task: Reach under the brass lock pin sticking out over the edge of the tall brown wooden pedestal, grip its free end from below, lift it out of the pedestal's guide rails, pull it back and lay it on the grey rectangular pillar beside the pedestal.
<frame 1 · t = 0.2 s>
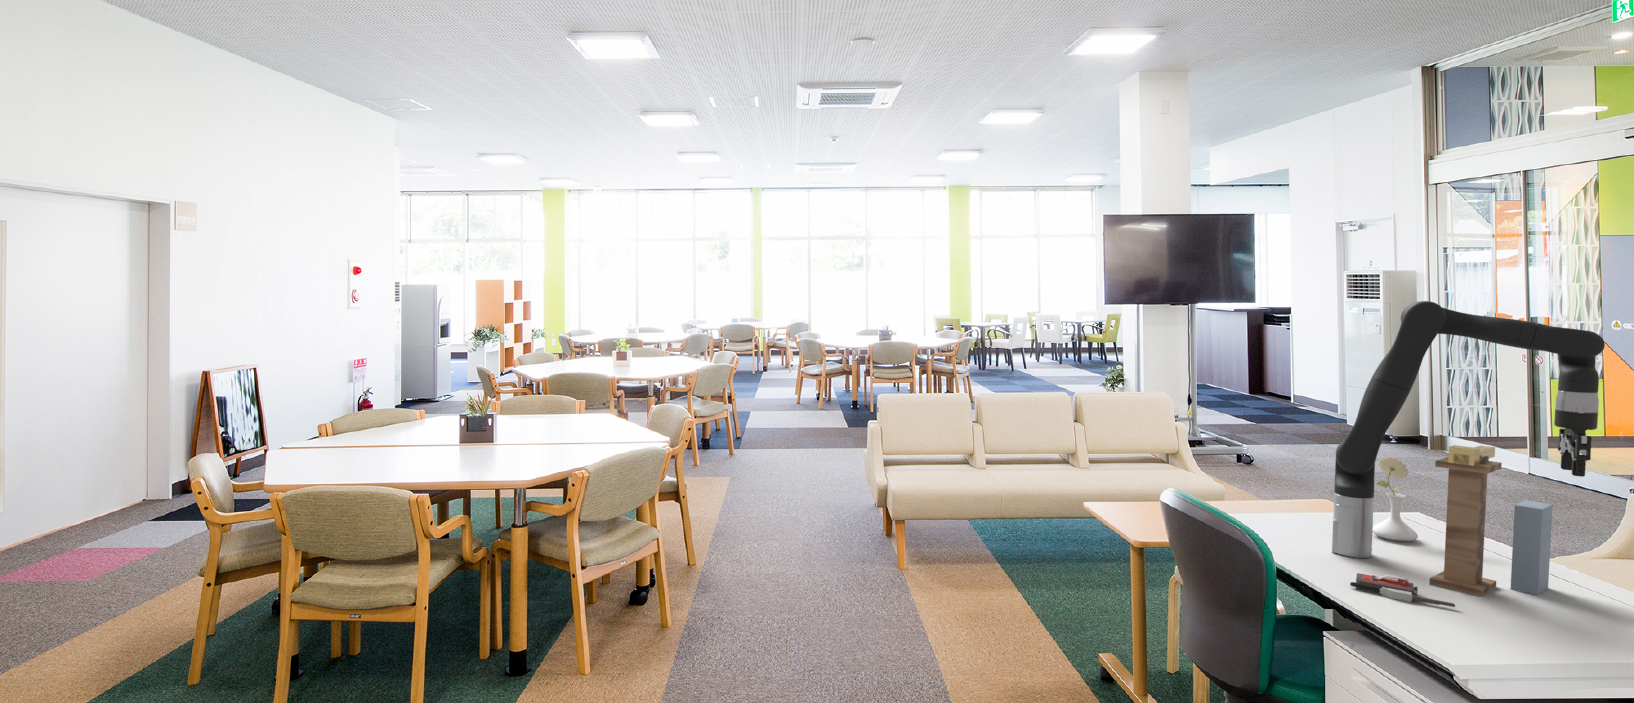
hand: (1572, 472, 183), 29 cm above the table, tool pointing down, fingers open, 8 cm apart
grey rectangular pillar: (1529, 588, 183), on the table
flower in vase: (1392, 538, 225), on the table
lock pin: (1474, 459, 186), point 32 cm above the table, touching brown wooden pedestal
brown wooden pedestal: (1462, 585, 185), on the table
red long two-tone device: (1400, 597, 179), on the table
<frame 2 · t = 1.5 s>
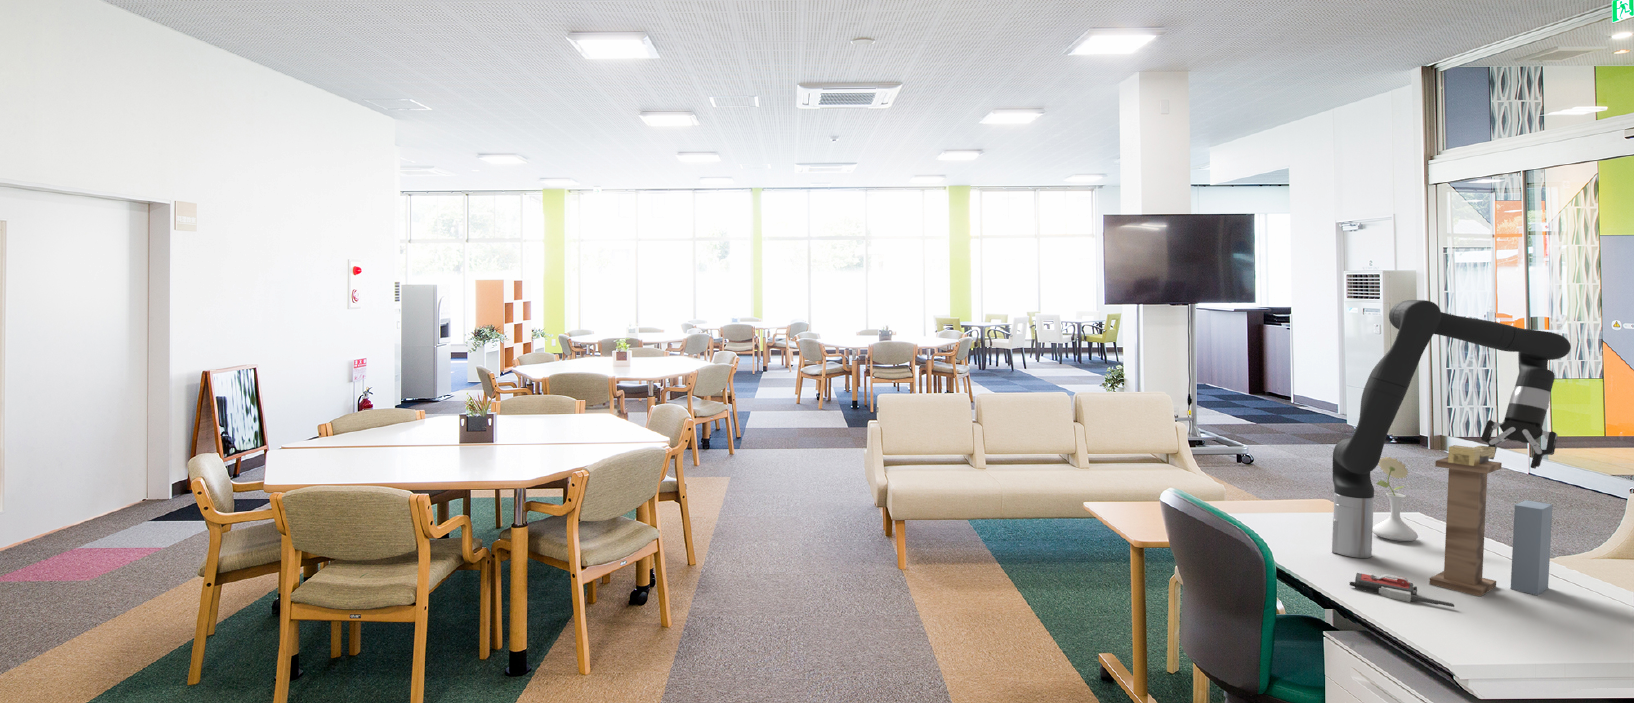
hand: (1511, 463, 196), 29 cm above the table, tool tilted 15°, fingers open, 8 cm apart
nothing on the table moved.
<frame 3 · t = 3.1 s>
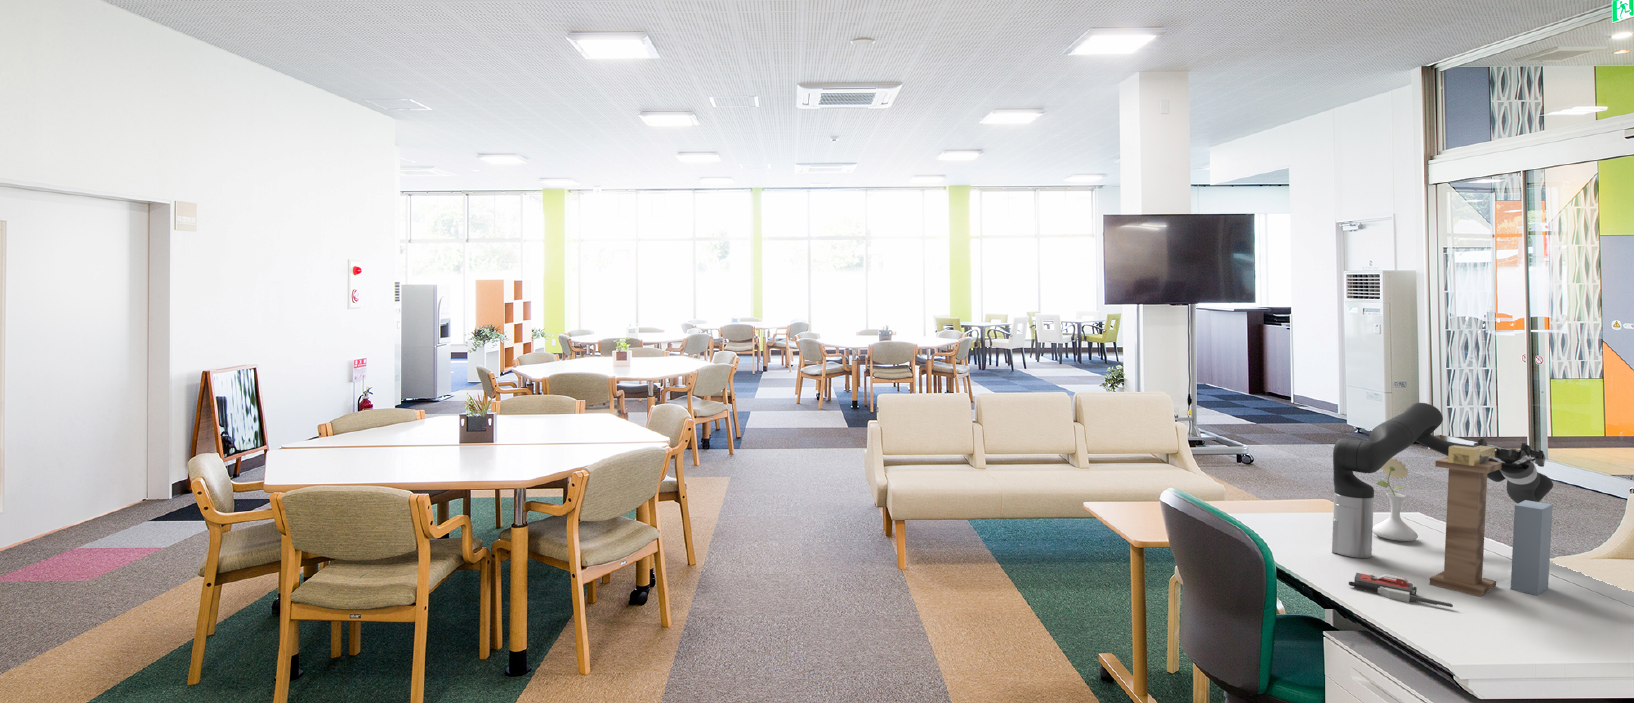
hand: (1502, 443, 198), 34 cm above the table, tool pointing upward, fingers open, 8 cm apart
nothing on the table moved.
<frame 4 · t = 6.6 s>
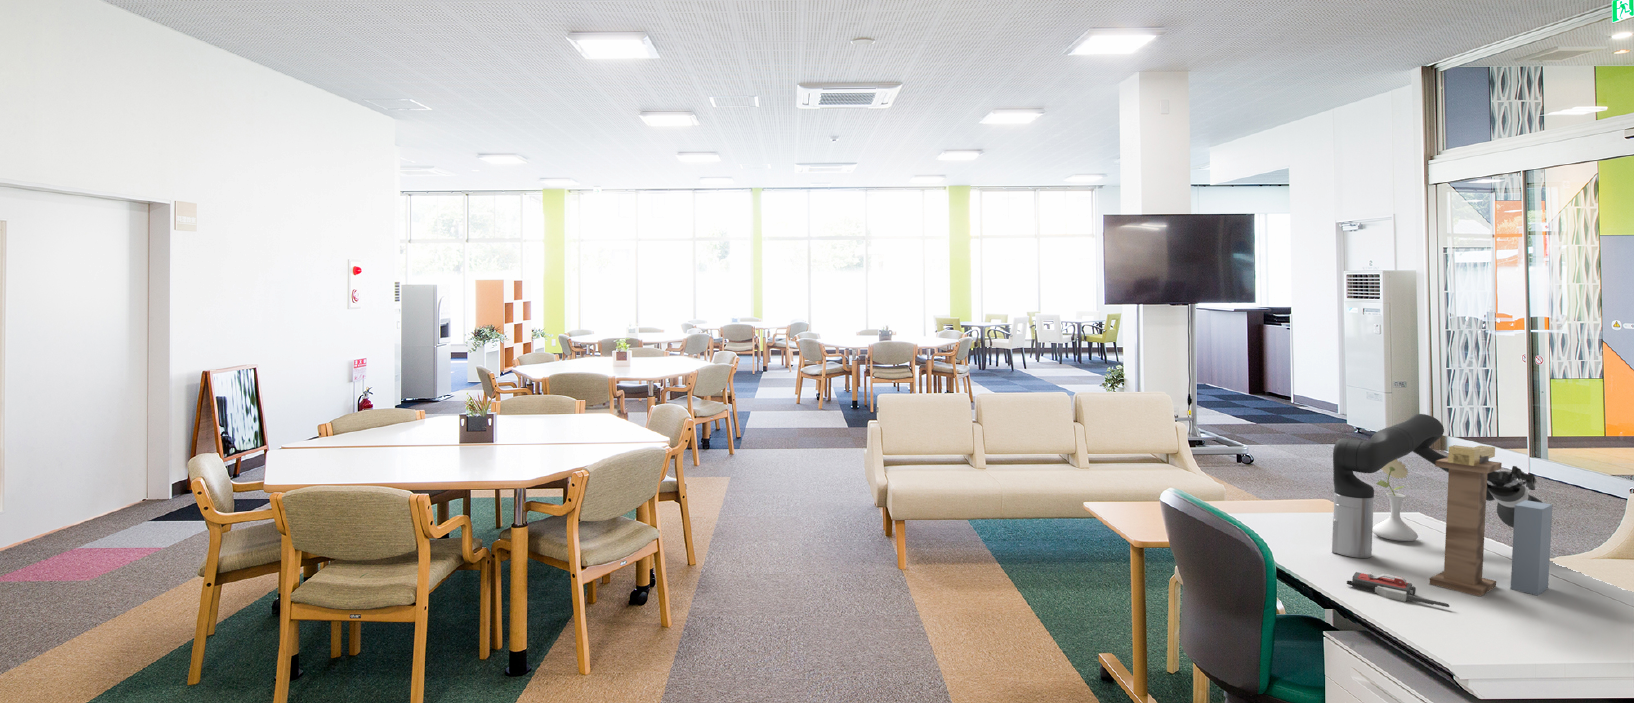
hand: (1492, 466, 195), 29 cm above the table, tool pointing upward, fingers open, 8 cm apart
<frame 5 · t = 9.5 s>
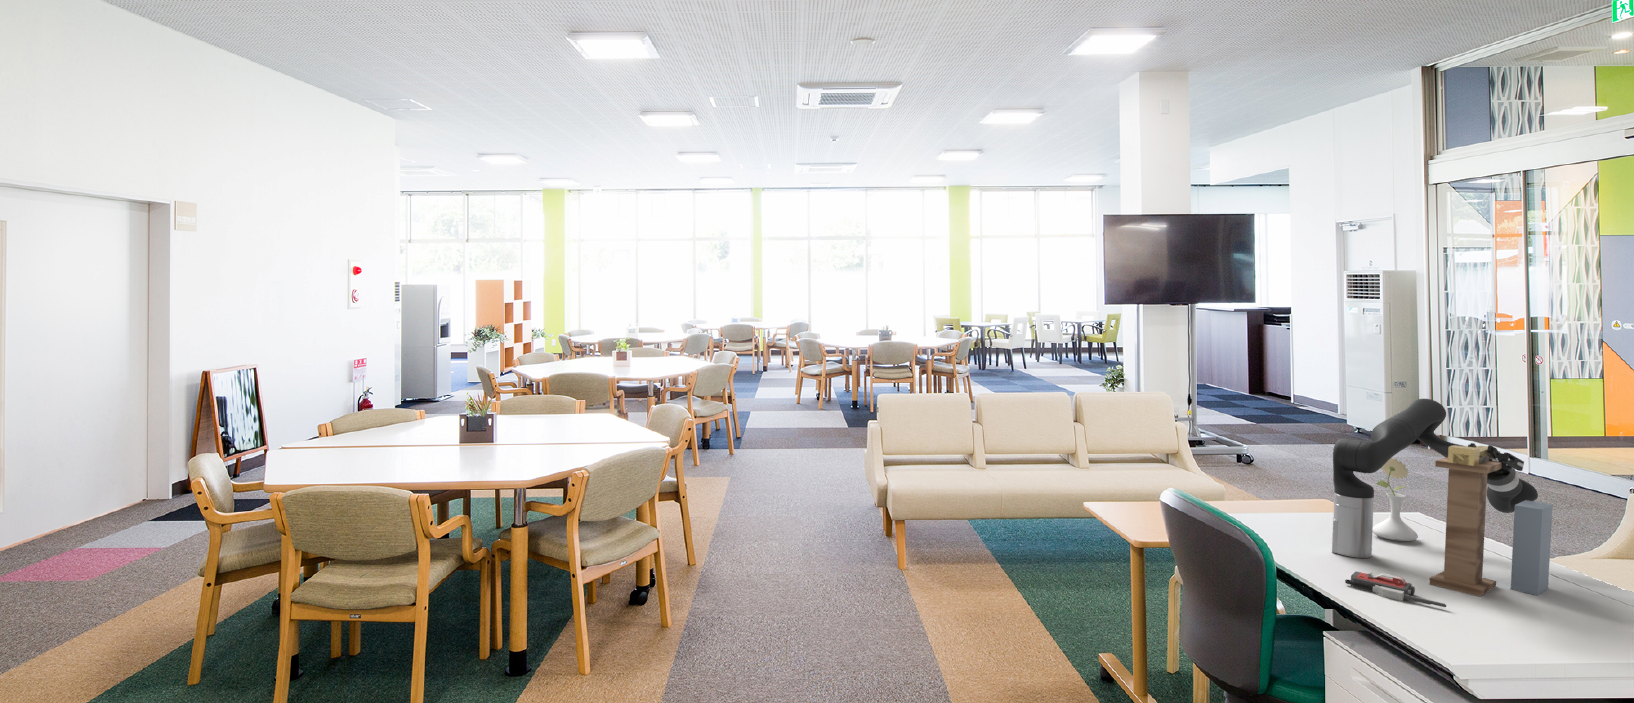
hand: (1480, 447, 189), 35 cm above the table, tool pointing upward, fingers closed on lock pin, 3 cm apart
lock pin: (1474, 459, 186), point 32 cm above the table, touching gripper, brown wooden pedestal
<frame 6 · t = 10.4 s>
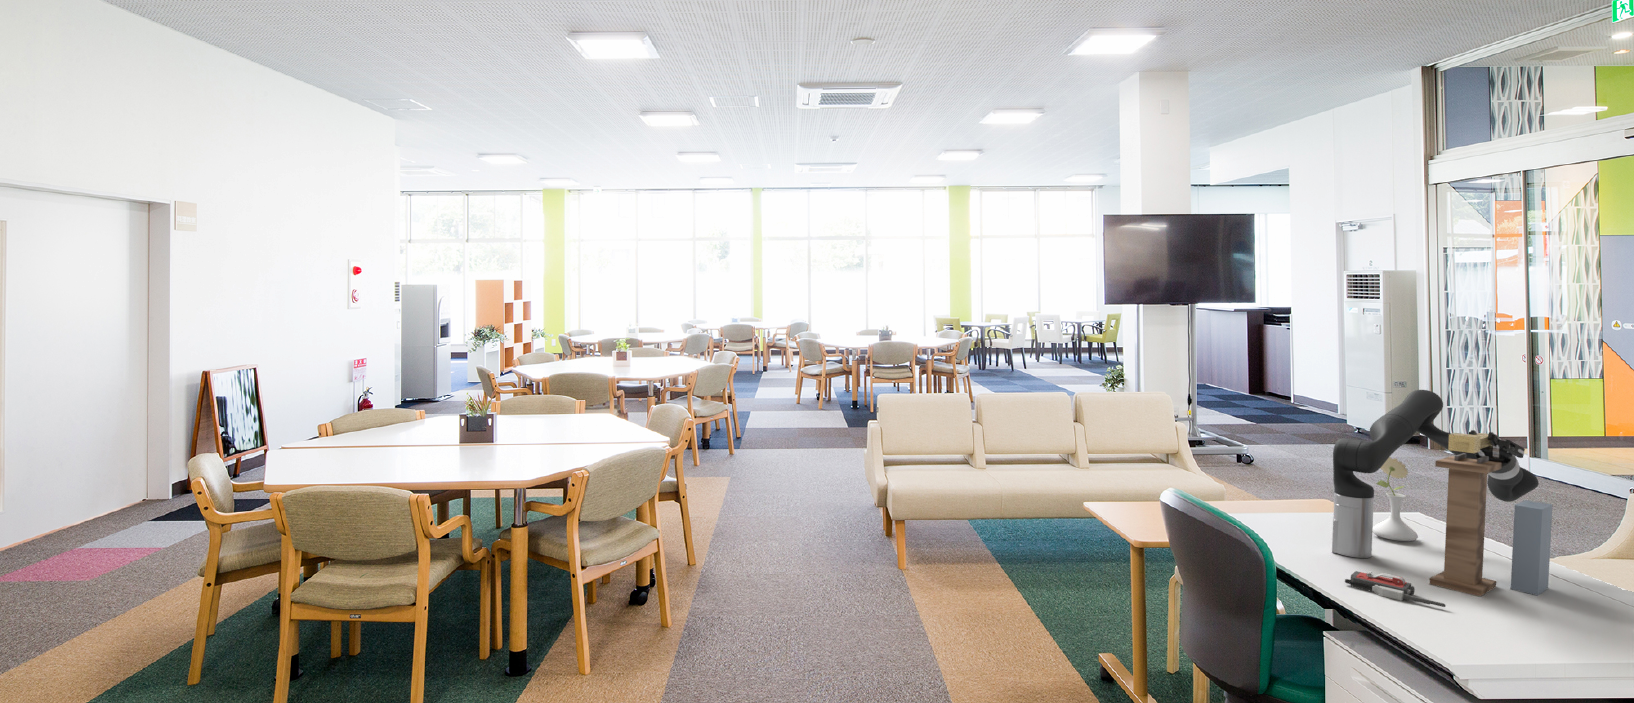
hand: (1481, 434, 188), 38 cm above the table, tool pointing upward, fingers closed on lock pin, 3 cm apart
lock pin: (1474, 447, 186), point 35 cm above the table, touching gripper
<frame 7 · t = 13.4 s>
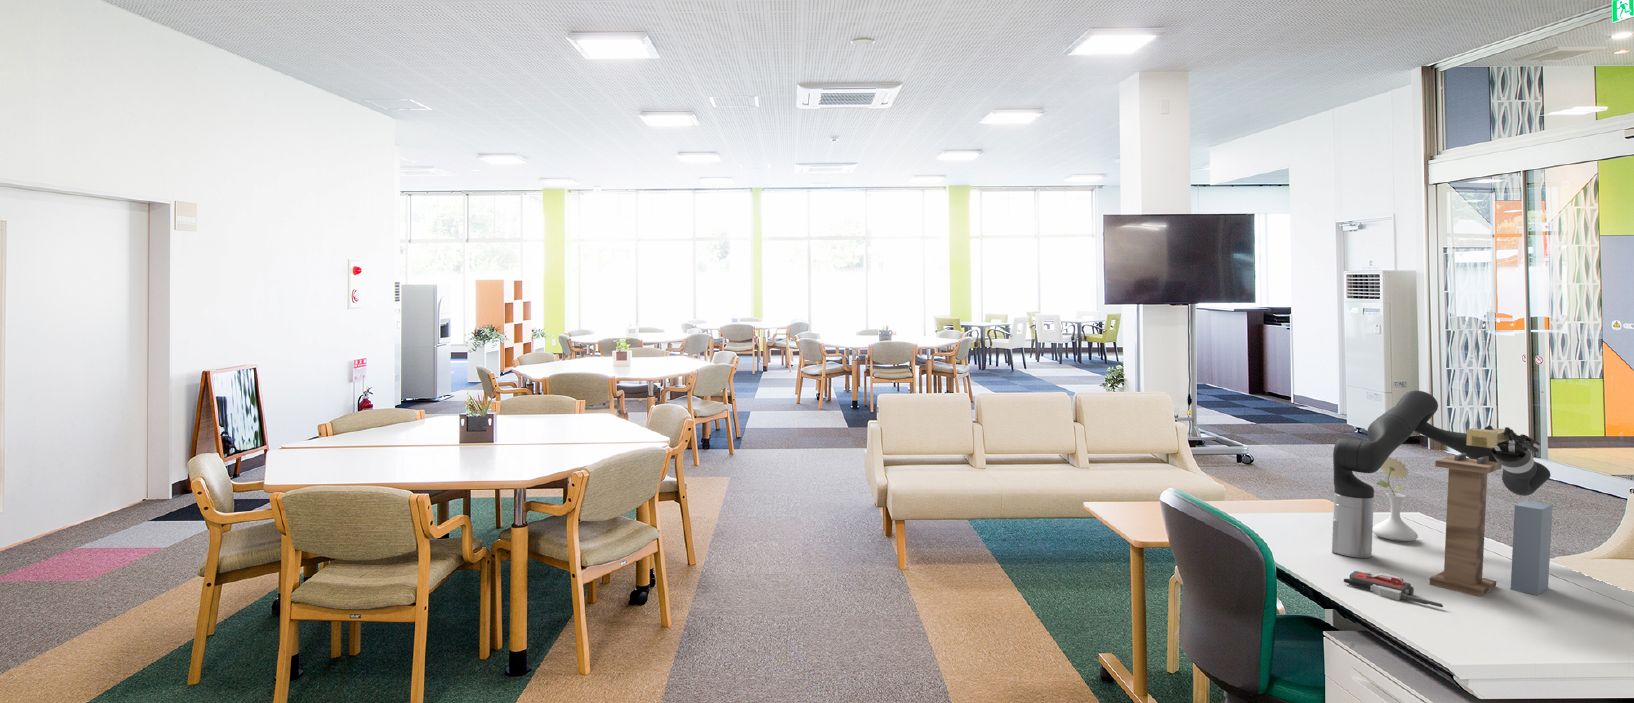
hand: (1497, 429, 193), 39 cm above the table, tool pointing upward, fingers closed on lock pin, 3 cm apart
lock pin: (1491, 442, 191), point 36 cm above the table, touching gripper
when the fingers open (26 cm above the table, at t = 17.5 s): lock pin drops 1 cm, resting on grey rectangular pillar.
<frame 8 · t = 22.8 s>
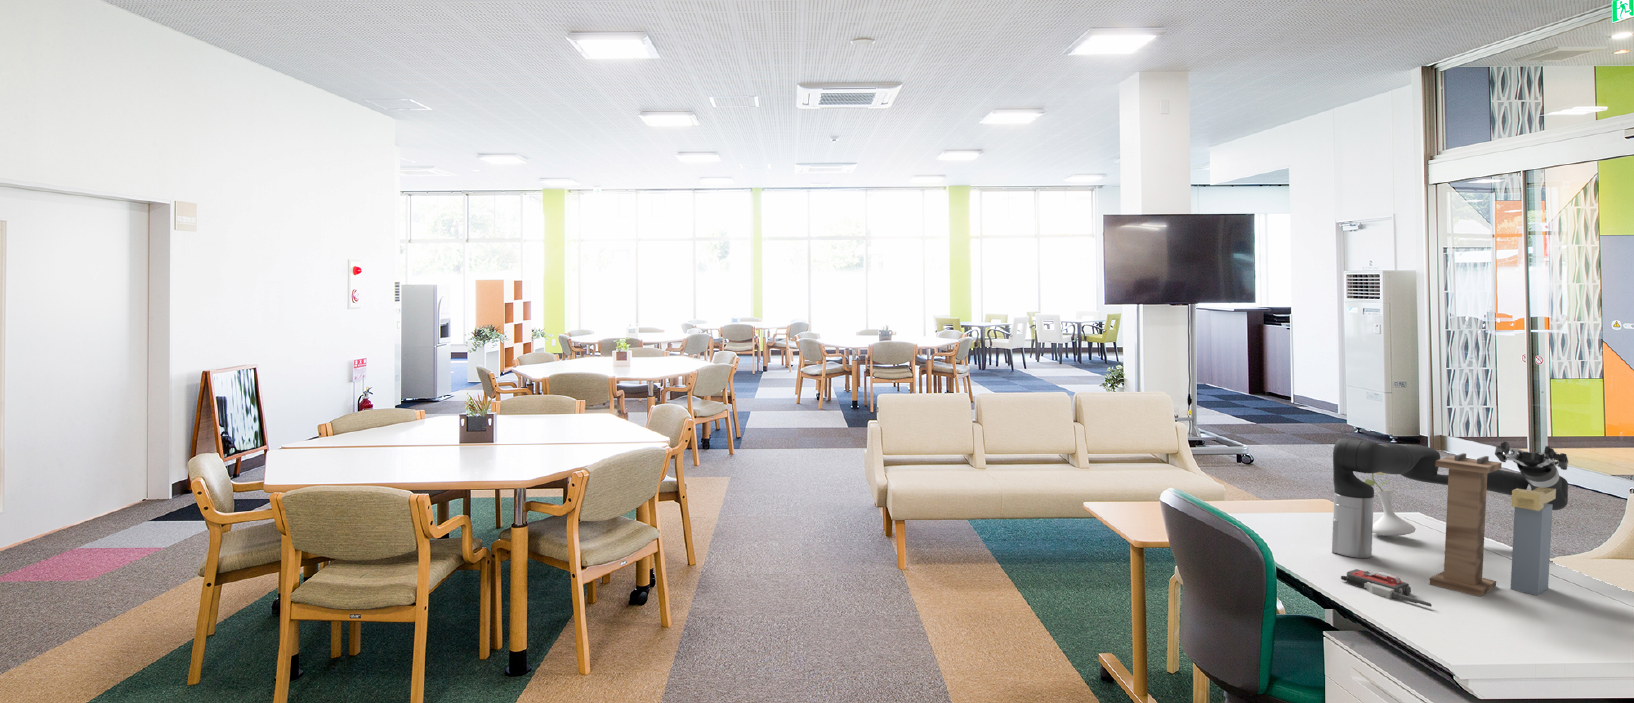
hand: (1525, 446, 199), 33 cm above the table, tool pointing upward, fingers open, 8 cm apart
flower in vase: (1391, 535, 225), point 1 cm above the table, touching arm
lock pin: (1536, 502, 184), point 21 cm above the table, touching grey rectangular pillar
at the end: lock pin inside the target area on the grey rectangular pillar (0.4 cm from its centre), point 21.5 cm above the grey rectangular pillar's base; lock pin touching grey rectangular pillar; the gripper is holding nothing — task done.
